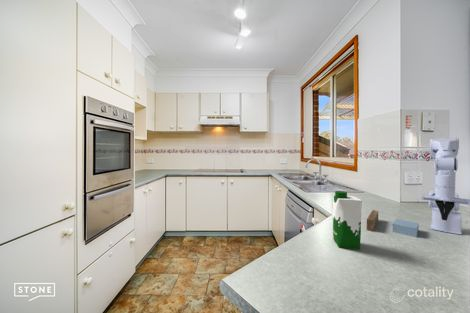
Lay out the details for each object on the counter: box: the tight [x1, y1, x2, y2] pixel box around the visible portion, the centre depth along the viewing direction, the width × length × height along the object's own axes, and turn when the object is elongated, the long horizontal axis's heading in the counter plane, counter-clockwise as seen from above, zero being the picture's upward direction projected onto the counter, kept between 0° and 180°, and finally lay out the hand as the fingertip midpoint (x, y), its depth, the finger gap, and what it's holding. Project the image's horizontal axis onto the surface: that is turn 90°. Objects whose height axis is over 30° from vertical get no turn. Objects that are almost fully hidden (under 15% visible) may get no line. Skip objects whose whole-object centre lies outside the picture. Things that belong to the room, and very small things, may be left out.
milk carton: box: [332, 190, 363, 251], centre depth 77 cm, size 9×9×20 cm
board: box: [366, 209, 379, 232], centre depth 99 cm, size 2×20×5 cm, turn 140°
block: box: [392, 218, 420, 238], centre depth 91 cm, size 8×10×4 cm
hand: (444, 219), depth 83 cm, fingers closed
